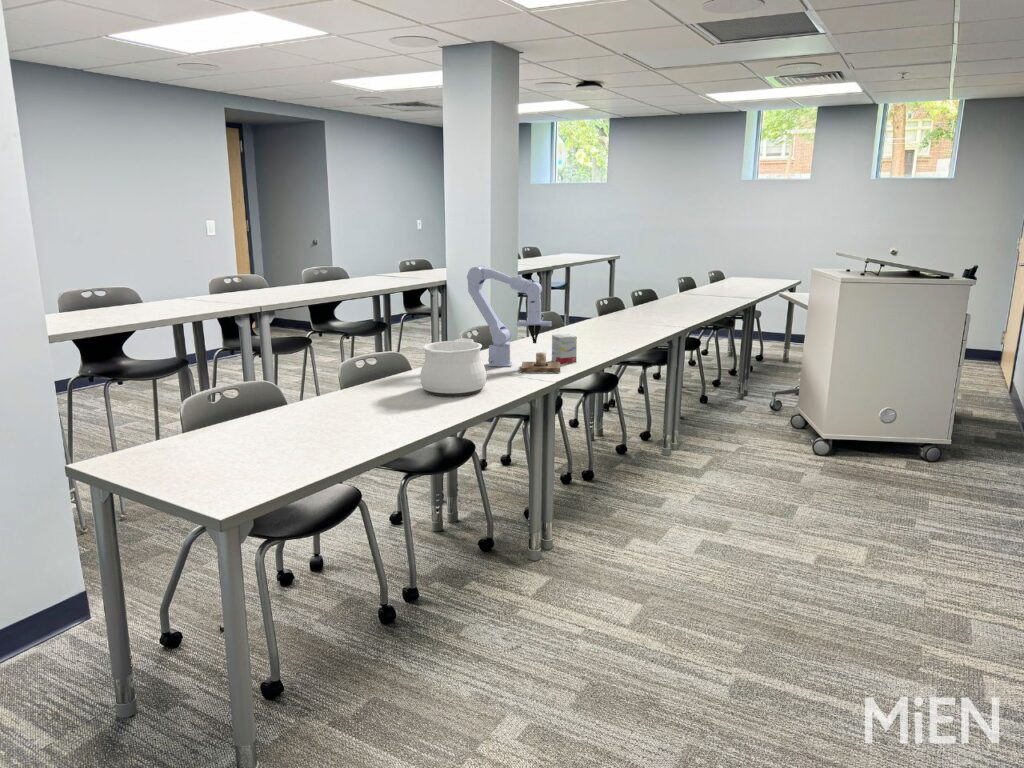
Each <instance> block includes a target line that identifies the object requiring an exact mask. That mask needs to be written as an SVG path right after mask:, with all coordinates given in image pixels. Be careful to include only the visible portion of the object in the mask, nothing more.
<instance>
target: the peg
mask: <svg viewBox="0 0 1024 768" xmlns="http://www.w3.org/2000/svg"><path fill="white" fill-rule="evenodd" d="M535 362H536V366H546V362H547V352H542V351H541V352H536V353H535Z"/></svg>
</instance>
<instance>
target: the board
mask: <svg viewBox="0 0 1024 768" xmlns="http://www.w3.org/2000/svg"><path fill="white" fill-rule="evenodd" d="M521 363H522V364H521V367H520V369H521V372H560V373H561V364H560V362H554V361H546V366H536V361H522V362H521Z"/></svg>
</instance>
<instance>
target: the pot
mask: <svg viewBox="0 0 1024 768" xmlns="http://www.w3.org/2000/svg"><path fill="white" fill-rule="evenodd" d="M481 348H483V345H482V344H481V343H478V342H475V341H474V339H471V338H457V339H455V340H445V341H436V342H430V343H426V344H424V345H423V346H422V349H423V350H424V362H423V364H422V367H421V369H420V370H421V371H420V376H419V377H420V378H419V379H420V384H421V387H422V388H423V390H424V391H425V392H426V393H428V394H430V395H433V396H437V397H445V398H448V397H449V398H453V397H454V398H455V397H458V398H459V397H467V396H471V395H474V394H477V393H479V392H481V391H482V390H483V389H484V387H485V384H486V381H487V370H486V367H485V365H484V363H483V361H482V356H481Z"/></svg>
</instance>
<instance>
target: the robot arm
mask: <svg viewBox="0 0 1024 768" xmlns="http://www.w3.org/2000/svg"><path fill="white" fill-rule="evenodd" d="M466 279H467V291H468V293H469V295H470V297H471V299H472V301H473V302H474V304H475V305H476V307H477V308H478V311H479V312H480V314H481V316H482V317H483V319H484V321H485V322H486V324H487V325H488V328H489V333H490V336H491V341H492V343H493V344H489V346H488V359H487V361H488V367H512V363H513V362H512V361H511V343H510V340H511V339H512V332H511V330H510V329H509V328H507V327H506V326H505V324H504V323H503V322H502V321H500V319H499V317H498V316H497V314H496V312H495V311H494V308H493V307H492V305H491V304H490V302H489V300H488V299H487V297H486V295H485V294H484V292H483V290H482V288H483V286H484V282H485V281H486V280H488V279H493V280H496V281H499V282H502V283H504V284H507V285H509V287H510V288H511V289H513V290H516V291H518V292H520V293H523V294H526V296H527V301H526V302H527V320H525V321H524V320H522V321H517V322H516V325H517V327H518V328H519V327H528V331H529V333H530V335H531V339H532V343H533V344H537V340H538V335H539V334H540V331H541V328H542V327H552V325H553V324H552V323H553V321H551V320H542V299H541V298H542V296H541V295H542V292H543V286H542V284H540V283H539V282H538V281H533V280H532V279H527V278H524V277H523V276H522V275H520V274H518V275H514V276H510V275H508V274H506V273H504V272H502V271H498V270H496V269H495V268H493V267H487V266H485V265H477V266H473V267H470V269H469V270H468V273H467V275H466Z"/></svg>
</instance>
